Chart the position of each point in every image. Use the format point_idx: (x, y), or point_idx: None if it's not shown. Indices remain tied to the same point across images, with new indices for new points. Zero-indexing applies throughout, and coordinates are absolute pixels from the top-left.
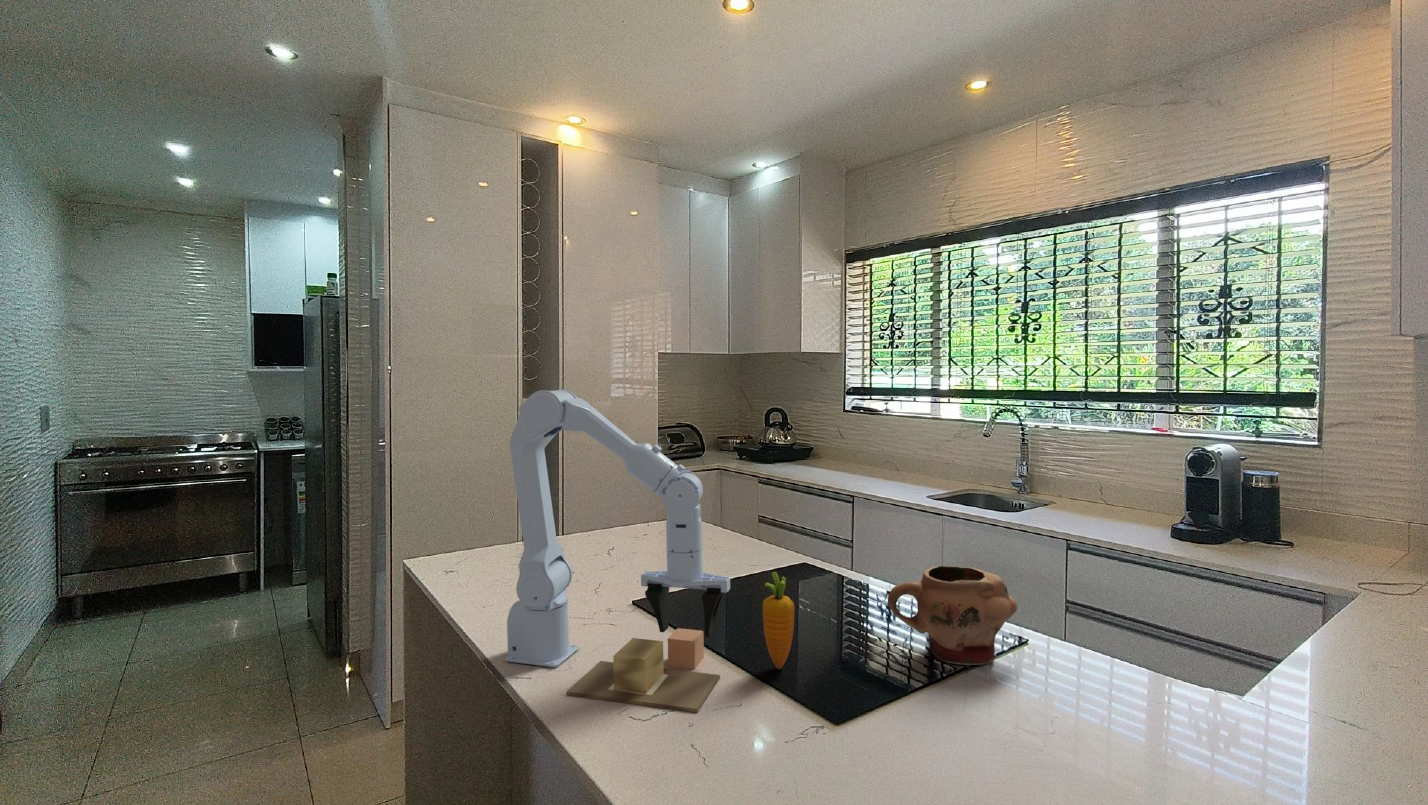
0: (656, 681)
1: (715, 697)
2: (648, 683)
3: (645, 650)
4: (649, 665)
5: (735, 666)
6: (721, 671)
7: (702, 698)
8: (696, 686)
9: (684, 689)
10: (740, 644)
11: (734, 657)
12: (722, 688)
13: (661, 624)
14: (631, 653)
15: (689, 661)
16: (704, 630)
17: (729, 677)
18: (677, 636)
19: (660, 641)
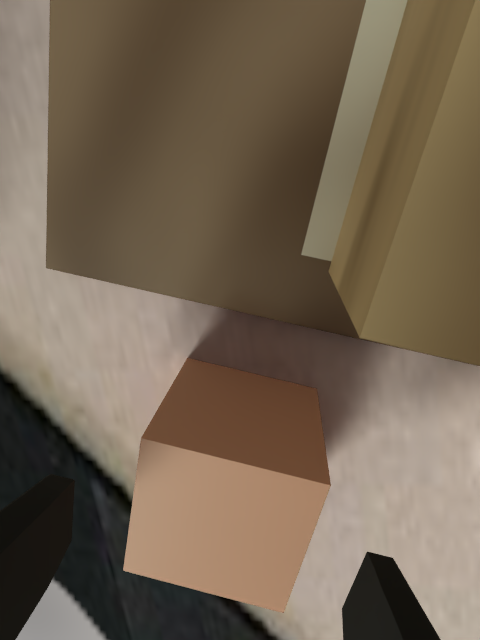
0: (360, 162)
1: (22, 39)
2: (415, 5)
3: None
4: None
5: (23, 381)
6: (67, 334)
7: None
8: (128, 119)
9: (185, 70)
10: None
11: (48, 457)
12: (17, 154)
13: (398, 608)
14: None
15: (206, 378)
16: (47, 505)
17: (18, 276)
18: (267, 509)
19: (384, 330)
